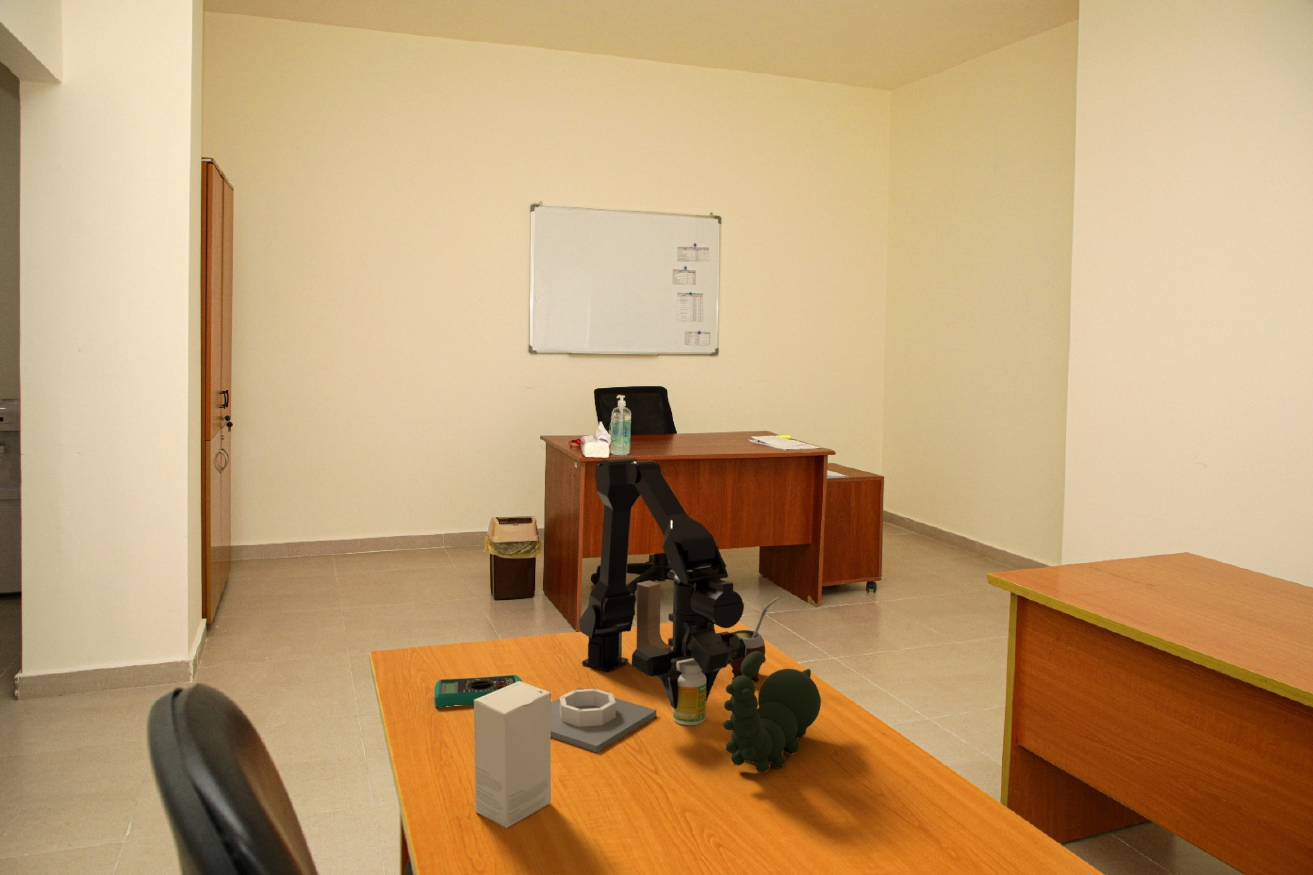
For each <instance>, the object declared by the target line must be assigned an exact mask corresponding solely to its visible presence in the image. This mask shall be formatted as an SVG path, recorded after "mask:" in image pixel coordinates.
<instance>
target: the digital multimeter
mask: <svg viewBox="0 0 1313 875" xmlns="http://www.w3.org/2000/svg"><path fill="white" fill-rule="evenodd" d="M518 681H520V682H523V679H522V678H521V677H520V676H518V675H517V674H510V675H508V674H507V675H497V676H484V677H481V676H480V677H468V678H467V677H466V678H446V679H445V678H444V679H438V681H436V682H435V685H434V707H435V708H436V707H446V706H454V705H469V706H474V700H475V699H477V698H480V697H482V696H485V695H487V694H489V693H492V692H494V691H497V690H499V689H502V688H504V687H506V686H509V685H511V684H513V683H516V682H518ZM446 708H447V707H446Z"/></svg>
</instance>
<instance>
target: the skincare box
mask: <svg viewBox="0 0 1313 875" xmlns="http://www.w3.org/2000/svg"><path fill="white" fill-rule="evenodd" d="M551 698H552V693H551V692H549V691H548V690H544V689H542V688H539V687H537V686H533V685H531V684H528V683H526V682H524V681H522V682H520V681H518V682H516V683H513V684H511V685H509V686H506V687H504V688H502V689H499V690H497V691H494V692H492V693H489V694H487V695H485V696H482V697H480V698H477V699H475V700H474V705H473V716H474V717H473V719H474V720H473V723H474V724H473V725H474V727H473V728H474V729H473V730H474V732H473V734H474V736H473V737H474V788H475V789H474V791H475V793H474V799H475V800H474V803H475V806H474V807H475V808H474V809H475V810H474V811H475V812H476V813H477V814H479V815H480V816H483V817H484V818H487V819H488V820H490V821H492V822H494V823H496V824H498V825H500V826H502V827H503V828H505V829H508V828H509V827H511V826H513V825H516V823H518V822H520V821H522V820H523V819H525V818H527V817H529V816H531V815H533V814H534V813H536V812H538V811H539V810H541V809H543V808H545V807H547V806H548V805H550V804H551V803H552V783H551V782H552V777H551V776H552V774H551V773H552V772H551V771H552V768H551V767H552V765H551V762H552V761H551V760H552V759H551V758H552V755H551V750H552V749H551V746H552V745H551V744H552V742H551V740H552V737H551V717H550V703H551V702H552V701H551Z"/></svg>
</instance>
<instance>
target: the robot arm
mask: <svg viewBox="0 0 1313 875" xmlns="http://www.w3.org/2000/svg"><path fill="white" fill-rule="evenodd" d="M594 478H595V479H594V480H595V483H596V484H595V485H596V486H595V487H596V488H595V489H596V490H595V491H596V492H597V495H598V496H599V498H600V500H601V502H602V503H603V520H602V521H603V523H602V536H601V550H600V551H601V552H600V553H601V554H600V565H599V566H600V567H599V568H600V570H599V579H598V581H597V582H596V584H595V586H594V587H593V589H592V590H591V591H590V592H589V597H588V598H589V599H588V603H587V604H588V606H587V608H586V609H585V610H584V612H583V613H582V615H581V616H580V618H579V619H578V625H579V631H580V632H581V633H582V634H583V635H585V636H586V637H588V642H587V659H584V660H582V661H581V665H584V666H588V667H591V668H595V669H599V670H603V671H606V672H610V671H612V670H615V669H617V668H618V667H620V666H622V665H625V664H627V663H628V662H629V658H626V657H622V655H623V653H622V651H623V650H622V648H623V646H622V644H623V641H622V640H623V637H622V636H623V633H625V632H631V631H632V626H633V622H634V618H635V616H636V607H635V606H636V602H637V597H636V596H635V594H633V593H632V592H631V589H630V588H629V586H628V584H627V576H628V575H627V574H628V558H629V546H630V545H629V542H630V532H631V529H630V528H631V518H632V517H631V515H632V508H633V506H634V505H635V504H636V502H637V501H638V499H639V498H640V496H641V498H642V500H643V502H644V504H645V505H646V507H647V509H648V511H649V512H650V514H651V515H652V517H653V519H654V520H655V522H656V524H657V525H658V527H659V529H660V531H661V532H662V533H661V534H662V536H663V540H662V551H664V554H665V557H666V559H667V561H668V563H669V565H670V567H671V568H672V569H670V570H669V571H668V572H666V573H667V574H666V576H667V578H670V579H671V580H673V585H672V586H673V588H672V589H673V590H672V592H673V593H672V594H673V596H672V612H671V613H668V619H667V620H668V621H669V622H671V623H672V637H669V638H668V640H667V644H668V645H670V646H672V650H668V651H663V650H661V649H659V648H658V647H656V646H649V647H644V648H638V649H635V650H634V651H633V652H632V654H631V666H632V667H633V668H635V669H636V670H638V671H640V672H641V673H643V674H644V675H646V676H648V677H653V678H654V677H658V678H659V681H660V682H661V684H662V688H663V690H664V692H665V695H666V697H667V700H668V701H669V704H670V706H671V708H672V709H673V708H674V709H676V708H677V703H678V678H679V677H680V675H681V674H682V672H680V671H679V670H678V668H677V664H678V661H682V660H687V659H691V658H694V660H695V661H696V662H697V663H698V664H699V667H700V668H701V669H702V671H701V672H702V673H703V674H704V675H705V676H706V702H707V701H708V698H709V696H710V694H711V691H712V689H713V686H714V683H715V681H716V679H717V676H718V674H719V672H720V671H721V670H722V669H724V668H727V667H728V665H730V663H731V660H729V658H731V659H737V658H742V657H746V644H745V642H744V640H743V639H742V638H740V637H738V636H737V635H736V633H735V631H732V632H729V631H727V630H726V631H721V632H717V633H716V629H715V626H718V627H720V628H722V629H730V628H732V627H735V625H737V624H738V623H739V622H740V620H741V618H742V617H743V614H744V609H745V604H744V602H743V598H742V596H741V595H740V594H739V593H738V592H737V591H735V590H734V583H733V582H731V581H728V580H724V579H727V578H729V574H728V571H727V565H726V562H725V561H724V559H723V557H722V555H721V552H720V548H719V546H718V544H717V542H716V540H715V538H714V536H713V535H712V534H711V532H709V530H708V529H707V528H706V527H705V526H704V524H703V523H701V522H698V521H697V520H695V519H693V518H691V517H690V516H689V514H688V513H687V511H686V510H685V508H684V506H682V504H681V502H680V501H679V499H678V497H677V495H676V494H675V492H674V491H673V489H672V488H671V486H670V485H669V483H668V481H667V480H666V478H665V476H664V475H663V473H662V468H661V466H660V463H658V461H655V460H652V459H650V460H638V459H637V458H635V457H629V458H628V457H626V458H625V457H623V458H609V459H603V460H601V461H600V462H599V463H598V464H597V466H596V468H595V470H594ZM710 567H711V568H710ZM705 568H706V569H705ZM696 569H697V570H696ZM698 569H699V570H698Z"/></svg>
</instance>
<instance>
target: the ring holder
mask: <svg viewBox="0 0 1313 875" xmlns="http://www.w3.org/2000/svg"><path fill="white" fill-rule="evenodd" d="M550 717H551V739H555V740H558V741H561V742H564V743H566V744H570V745H573V746H577V747H579V748H582V749H584V750H587V751H591V752H594V753H598V752H600V751H601V750H603V749H605V748H606V747H608V746H609V745H611V744H613V743H614V742H616V741H617V740H619V739H621V738H622V737H625V736H626V735H627V734H629V733H631V732H632V731H634V730H636V729H637V728H640V726H642V725H643V724H644V725H645V723H648V722H649V721H650V720H652V719H654V718H655V717H657V709H655V708H651V707H648V706H645V705H640V704H637V703H633V702H632V701H631V702H630V701H627V700H622V699H620V698H616V697H614V694H613V693H611V692H608V691H605V690H602V689H597V688H589V689H588V688H587V689H585V688H582V687H578V688H576V689H573V690H571V691H568V692H567V693H564V694H563V695H561V696H559V697H558V698H556V699H555V700H552V701H551V703H550Z"/></svg>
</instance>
